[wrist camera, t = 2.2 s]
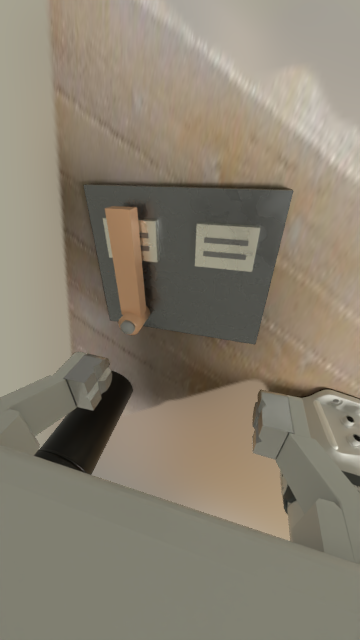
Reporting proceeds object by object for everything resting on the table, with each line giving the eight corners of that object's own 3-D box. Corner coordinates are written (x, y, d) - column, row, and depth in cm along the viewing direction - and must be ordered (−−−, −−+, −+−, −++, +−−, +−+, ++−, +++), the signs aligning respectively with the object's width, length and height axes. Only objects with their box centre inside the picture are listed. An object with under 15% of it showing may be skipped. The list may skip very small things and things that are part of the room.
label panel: (291, 189, 24) (294, 191, 22) (255, 338, 35) (255, 349, 33) (90, 184, 29) (77, 185, 27) (114, 315, 40) (106, 323, 38)
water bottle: (101, 395, 55) (25, 509, 37) (89, 364, 50) (-7, 480, 32) (139, 403, 53) (78, 529, 34) (131, 371, 47) (54, 501, 29)
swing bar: (150, 321, 36) (138, 339, 33) (132, 318, 37) (118, 335, 33) (141, 205, 27) (123, 212, 23) (117, 204, 28) (95, 210, 24)
